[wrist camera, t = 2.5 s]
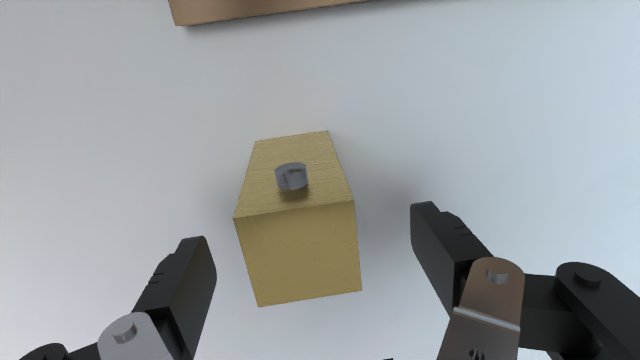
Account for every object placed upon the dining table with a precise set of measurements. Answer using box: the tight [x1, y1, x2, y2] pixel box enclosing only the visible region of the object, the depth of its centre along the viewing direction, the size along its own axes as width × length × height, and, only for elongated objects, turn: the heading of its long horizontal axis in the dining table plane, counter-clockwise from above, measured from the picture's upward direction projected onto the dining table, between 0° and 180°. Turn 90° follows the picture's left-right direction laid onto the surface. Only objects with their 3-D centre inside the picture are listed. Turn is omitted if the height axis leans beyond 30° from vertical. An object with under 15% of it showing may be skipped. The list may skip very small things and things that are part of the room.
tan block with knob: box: [233, 131, 362, 307], centre depth 15 cm, size 4×5×8 cm
